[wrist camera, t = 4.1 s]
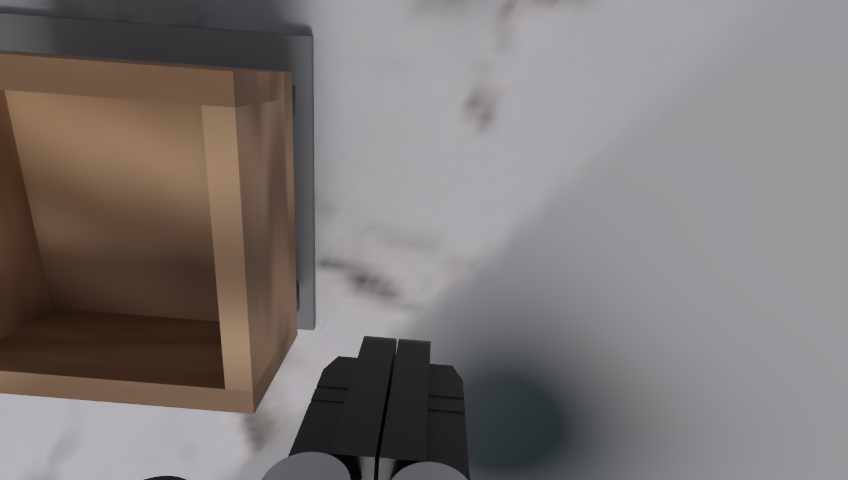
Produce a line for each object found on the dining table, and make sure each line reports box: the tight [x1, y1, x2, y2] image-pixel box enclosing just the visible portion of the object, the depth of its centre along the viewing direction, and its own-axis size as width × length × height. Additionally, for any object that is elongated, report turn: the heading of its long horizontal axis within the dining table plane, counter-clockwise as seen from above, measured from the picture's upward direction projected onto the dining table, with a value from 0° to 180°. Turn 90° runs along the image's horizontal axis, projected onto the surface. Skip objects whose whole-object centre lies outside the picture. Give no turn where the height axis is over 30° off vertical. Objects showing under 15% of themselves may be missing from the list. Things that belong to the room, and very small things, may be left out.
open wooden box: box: [0, 50, 300, 414], centre depth 20 cm, size 12×12×8 cm
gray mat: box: [0, 13, 315, 330], centre depth 24 cm, size 15×18×1 cm
